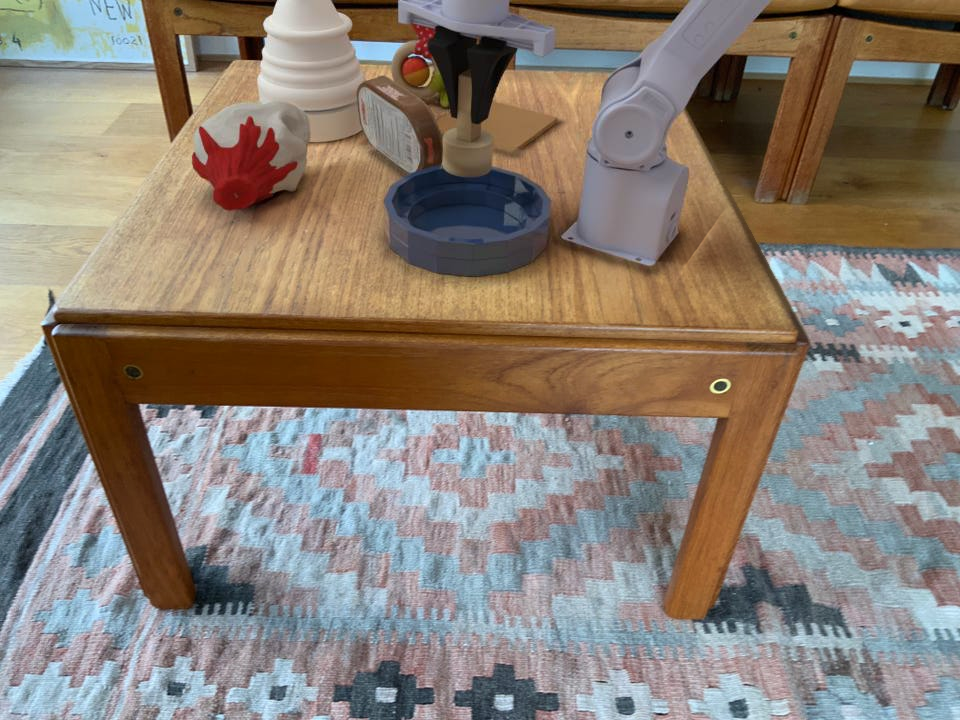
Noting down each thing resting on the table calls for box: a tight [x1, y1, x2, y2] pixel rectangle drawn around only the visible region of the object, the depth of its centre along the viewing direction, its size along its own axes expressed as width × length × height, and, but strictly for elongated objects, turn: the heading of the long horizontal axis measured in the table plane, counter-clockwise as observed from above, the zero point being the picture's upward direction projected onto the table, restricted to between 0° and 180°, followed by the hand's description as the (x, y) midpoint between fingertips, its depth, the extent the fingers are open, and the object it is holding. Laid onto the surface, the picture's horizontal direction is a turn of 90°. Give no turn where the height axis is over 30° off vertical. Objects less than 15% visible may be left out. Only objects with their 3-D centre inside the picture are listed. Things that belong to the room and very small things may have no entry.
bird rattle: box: [390, 23, 449, 109], centre depth 100 cm, size 6×11×9 cm
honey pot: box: [256, 0, 367, 143], centre depth 91 cm, size 13×13×18 cm
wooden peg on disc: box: [441, 69, 494, 177], centre depth 73 cm, size 5×5×9 cm
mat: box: [436, 100, 558, 152], centre depth 97 cm, size 12×12×1 cm
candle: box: [191, 101, 311, 212], centre depth 79 cm, size 9×11×15 cm
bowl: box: [382, 165, 552, 278], centre depth 75 cm, size 16×16×4 cm
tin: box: [356, 75, 443, 174], centre depth 86 cm, size 15×3×8 cm, turn 34°
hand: (469, 117), depth 73 cm, fingers closed on wooden peg on disc
